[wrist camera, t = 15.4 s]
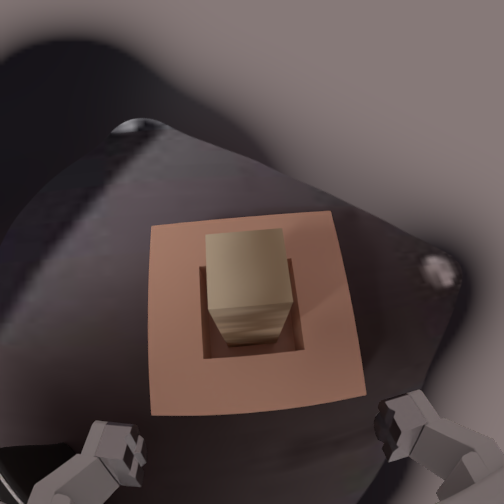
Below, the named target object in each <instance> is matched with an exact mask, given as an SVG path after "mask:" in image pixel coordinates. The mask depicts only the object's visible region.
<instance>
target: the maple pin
mask: <svg viewBox="0 0 504 504" xmlns="http://www.w3.org/2000/svg"><path fill="white" fill-rule="evenodd" d="M205 242H206V273H207V297H208V310H209V312H210V314H211V316H212V318H213V320H214V322H215V324H216V325H217V327H218V329H219V331H220V333H221V335H222V337H223V339H224V340H225V342H226V344H227V346H228V347H239V346H251V345H262V344H272V343H276V342H277V340H278V338H279V335H280V333H281V330H282V328H283V326H284V323H285V321H286V318H287V316H288V314H289V311H290V309H291V306H292V304H293V297H292V290H291V283H290V276H289V269H288V263H287V256H286V250H285V243H284V237H283V230H282V228H277V229H265V230H253V231H241V232H229V233H218V234H207V235H205Z"/></svg>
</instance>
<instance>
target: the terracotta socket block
mask: <svg viewBox="0 0 504 504" xmlns="http://www.w3.org/2000/svg"><path fill="white" fill-rule="evenodd" d="M277 228H282V230H283V237H284V243H285V250H286V256H287V263H288V269H289V276H290V283H291V290H292V297H293V304H292V306H291V309H290V311H289V314H288V316H287V318H286V321H285V323H284V326H283V328H282V330H281V333H280V335H279V338H278V340H277V342H276V343H272V344H262V345H251V346H239V347H228V346H227V344H226V342H225V340H224V339H223V337H222V335H221V333H220V331H219V329H218V327H217V325H216V324H215V322H214V320H213V318H212V316H211V314H210V312H209V310H208V297H207V273H206V242H205V235H207V234H218V233H229V232H241V231H253V230H265V229H277ZM148 359H149V385H150V402H151V415H154V416H202V415H225V414H241V413H253V412H264V411H273V410H282V409H290V408H297V407H304V406H310V405H317V404H323V403H328V402H334V401H339V400H344V399H349V398H354V397H359V396H363V395H366V388H365V380H364V373H363V367H362V360H361V354H360V347H359V341H358V335H357V330H356V324H355V319H354V313H353V308H352V303H351V298H350V293H349V288H348V283H347V278H346V274H345V269H344V264H343V260H342V255H341V251H340V247H339V243H338V238H337V234H336V230H335V226H334V222H333V218H332V214H331V211H318V212H303V213H289V214H276V215H263V216H250V217H239V218H227V219H216V220H206V221H195V222H185V223H175V224H166V225H156V226H152V227H151V242H150V261H149V287H148Z"/></svg>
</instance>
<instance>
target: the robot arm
mask: <svg viewBox="0 0 504 504" xmlns="http://www.w3.org/2000/svg"><path fill="white" fill-rule="evenodd" d="M378 409H379V411H380V412H379V413H378V414H377V415H376V416H375V419H374V430H375V434H376V437H377V439H378V440H379V441H381V442H383V443H384V444H383V447H382V450H383V452H384V454H385V456H386V459H387V461H388V462H391V461H394V460H398V459H401V458H404V457H407V456H410V458H412V459H413V460H415V461H416V462H418V463H419V464H421V465H422V466H424V467H425V468H427V469H428V470H430V471H431V472H433V473H434V474H436V475H437V476H439V477H440V478H442V479H444V480H445V481H444V482H443V484H442V485H441V486H440V487H439V489H438V490H437V492H436V494H437V496H438V498H439V500H440V502H438V503H436V504H504V454H503V452H502V451H501V449H500V448H499V446H498V445H497V444H496V442H495V441H494V439H492V438H490V437H487V436H485V435H482V434H480V433H478V432H476V431H473V430H471V429H469V428H466V427H464V426H462V425H459V424H457V423H455V422H452V421H450V420H448V419H446V418H442V419H441V418H440V417H439V416H438V414H437V413H436V411H435V410H434V408H433V407H432V405H431V404H430V402H429V401H428V399H427V398H426V397H425V395H424V394H423V392H422V391H421V390H416V391H412V392H409V393H405V394H401V395H398V396H394V397H391V398H387V399H384V400H381V401H380V402H379V405H378ZM139 432H140V430H139V428H138V426H137V425H135V424H125V423H115V422H106V421H98V420H96V421H95V422H94V423H93V424H92V426H91V429H90V431H89V434H88V437H87V439H86V442H85V444H84V447H83V450H82V452H81V454H76V455H75V456H74V457H72V458H71V459H70V460H68V461H67V462H66V463H64V464H63V465H61V466H60V467H59V468H57V469H56V470H55V471H53V472H52V473H50V474H49V475H48V476H46V477H45V478H43V479H42V480H41V481H39V482H38V483H36V484H35V485H34V487H33V490H32V492H31V495H30V497H29V500H28V503H27V504H103V503H104V502H105V501H106V500H107V499H108V498H109V497H110V496H111V495H112V494H113V492H114V491H115V490H116V489H117V488H118V487H119V485H125V486H135V487H142V482H143V477H144V471H143V469H142V468H141V467H142V466H143V465H144V464H145V463H146V461H147V445H146V442H145V440H144V438H142V437H141V436H139ZM0 504H5V503H3V502H1V501H0Z"/></svg>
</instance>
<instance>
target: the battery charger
mask: <svg viewBox="0 0 504 504" xmlns="http://www.w3.org/2000/svg"><path fill="white" fill-rule="evenodd" d="M75 455H76V454H75V453H74V452H73V451H72V450H71V449H70V447H69V446H68V445H67V444H66V443H59V444H52V445H28V446H13V447H3V448H0V500H1V501H2V502H3V503H5V504H27V503H28V500H29V497H30V495H31V492H32V490H33V487H34V485H35V484H36V483H38V482H39V481H41V480H42V479H43V478H45V477H46V476H48V475H49V474H50V473H52V472H53V471H55V470H56V469H57V468H59V467H60V466H61V465H63V464H64V463H66V462H67V461H68V460H70V459H71V458H72V457H74V456H75Z"/></svg>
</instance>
